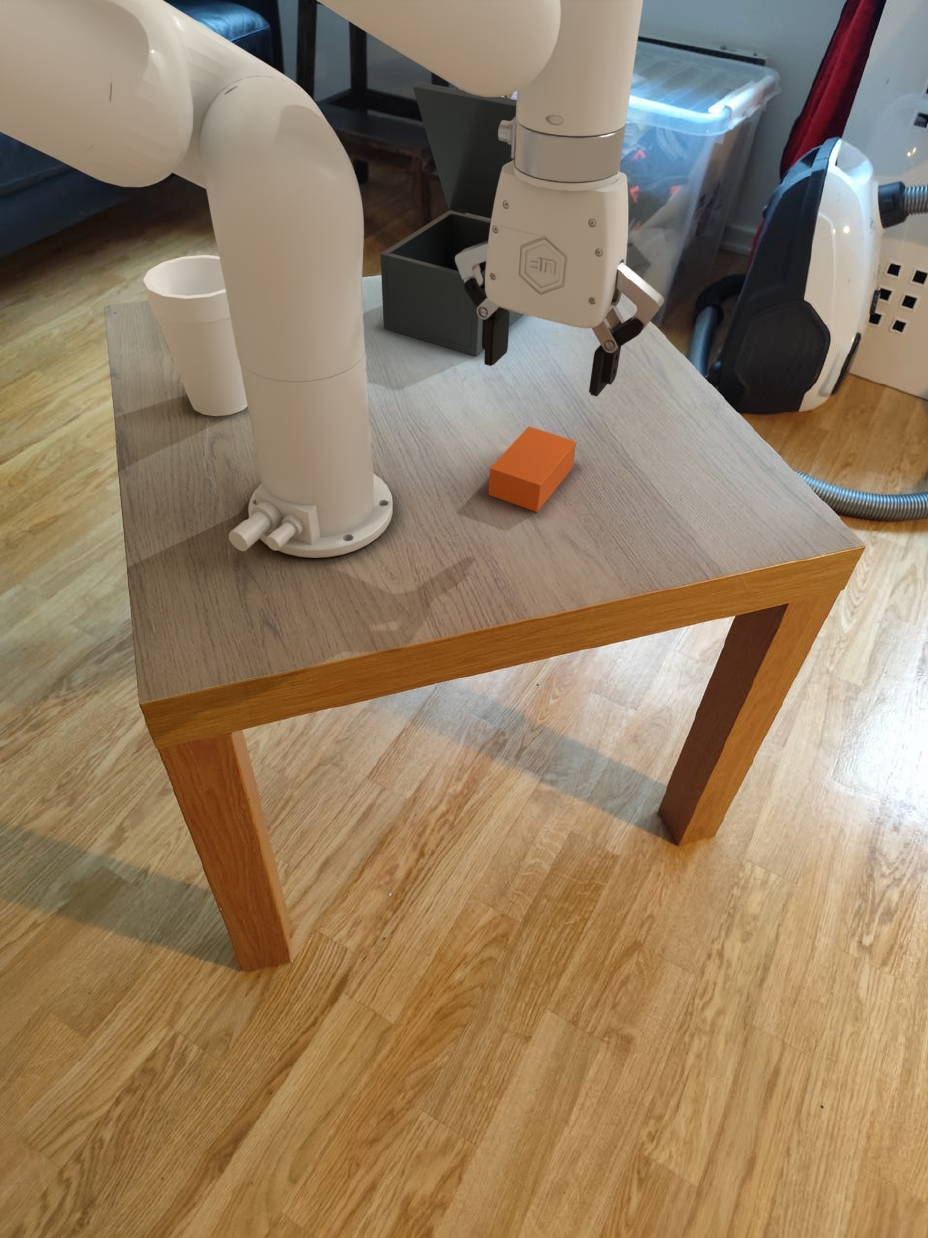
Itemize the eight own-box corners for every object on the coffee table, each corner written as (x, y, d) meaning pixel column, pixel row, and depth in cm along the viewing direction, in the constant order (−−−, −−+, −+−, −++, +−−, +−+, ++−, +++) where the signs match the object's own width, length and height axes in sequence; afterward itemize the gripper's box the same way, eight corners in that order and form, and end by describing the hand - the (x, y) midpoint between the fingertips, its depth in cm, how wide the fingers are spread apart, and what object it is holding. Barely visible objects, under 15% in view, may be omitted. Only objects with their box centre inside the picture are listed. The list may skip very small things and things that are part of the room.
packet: (537, 512, 74) (540, 485, 72) (488, 495, 76) (489, 468, 73) (572, 467, 79) (576, 441, 77) (526, 452, 81) (528, 425, 78)
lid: (520, 106, 81) (542, 68, 82) (412, 86, 85) (434, 50, 86) (540, 230, 96) (558, 196, 97) (448, 208, 100) (466, 176, 101)
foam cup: (166, 387, 87) (134, 264, 78) (251, 369, 90) (230, 248, 81) (189, 433, 81) (157, 305, 72) (279, 411, 84) (259, 287, 75)
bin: (476, 356, 94) (479, 279, 87) (383, 328, 98) (380, 253, 91) (535, 304, 103) (541, 231, 97) (448, 280, 107) (449, 210, 101)
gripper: (433, 144, 58) (436, 366, 70) (668, 189, 52) (626, 422, 64) (483, 117, 62) (477, 330, 75) (704, 156, 57) (658, 379, 69)
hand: (546, 373), depth 69 cm, fingers open, 9 cm apart
